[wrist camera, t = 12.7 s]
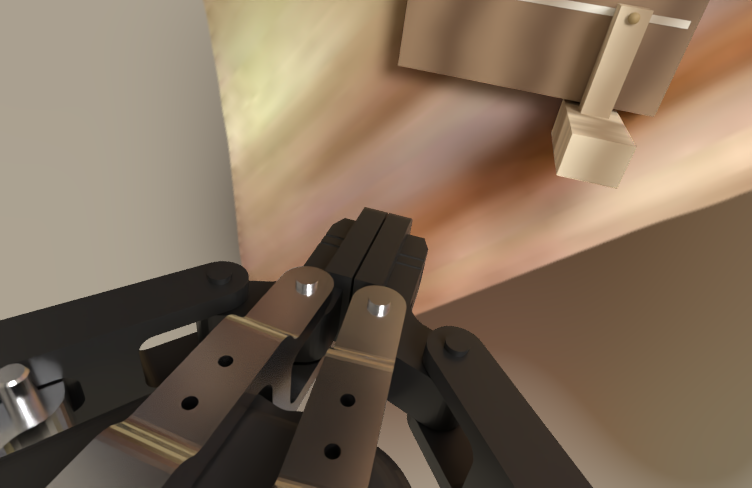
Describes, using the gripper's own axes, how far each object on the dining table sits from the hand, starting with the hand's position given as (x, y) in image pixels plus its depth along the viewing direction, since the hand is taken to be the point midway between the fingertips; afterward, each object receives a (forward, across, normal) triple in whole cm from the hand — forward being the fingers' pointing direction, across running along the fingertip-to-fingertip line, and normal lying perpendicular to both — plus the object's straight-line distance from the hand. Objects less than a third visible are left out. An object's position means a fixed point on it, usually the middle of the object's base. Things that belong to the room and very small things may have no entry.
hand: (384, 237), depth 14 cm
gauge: (+29, -10, 0) cm, 30 cm away
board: (+29, -4, -3) cm, 29 cm away
